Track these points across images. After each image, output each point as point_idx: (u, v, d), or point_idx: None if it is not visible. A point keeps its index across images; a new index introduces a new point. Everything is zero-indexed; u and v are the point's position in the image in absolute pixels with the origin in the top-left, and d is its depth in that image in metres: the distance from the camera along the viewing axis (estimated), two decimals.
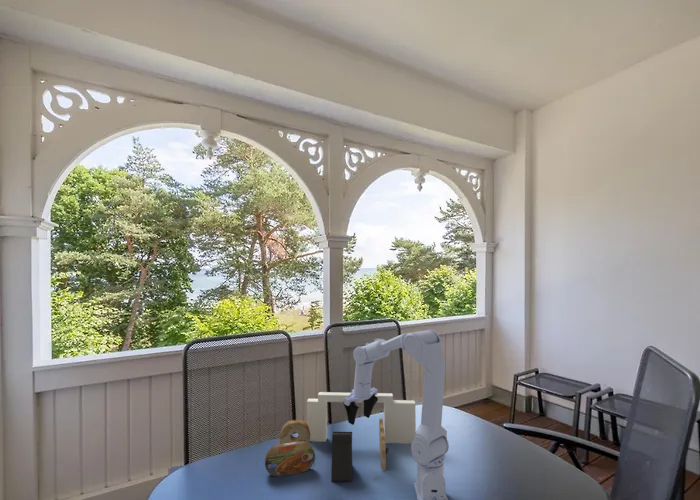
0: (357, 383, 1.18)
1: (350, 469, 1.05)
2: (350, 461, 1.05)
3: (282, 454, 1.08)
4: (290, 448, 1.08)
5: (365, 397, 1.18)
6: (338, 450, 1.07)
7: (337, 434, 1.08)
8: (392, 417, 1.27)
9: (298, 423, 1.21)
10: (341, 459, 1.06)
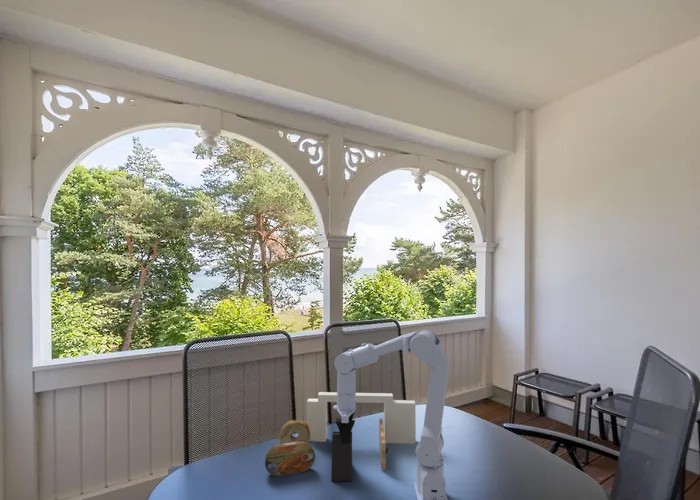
0: (346, 395, 1.07)
1: (350, 469, 1.05)
2: (350, 461, 1.05)
3: (282, 454, 1.08)
4: (290, 448, 1.08)
5: (355, 408, 1.08)
6: (338, 450, 1.07)
7: (337, 434, 1.08)
8: (392, 417, 1.27)
9: (298, 423, 1.21)
10: (341, 459, 1.06)
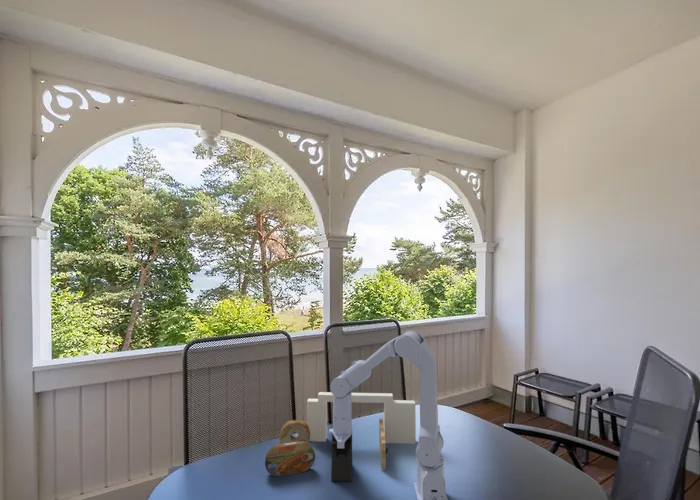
0: (342, 419, 1.06)
1: (350, 469, 1.05)
2: (350, 461, 1.05)
3: (282, 454, 1.08)
4: (290, 448, 1.08)
5: (351, 431, 1.08)
6: None
7: None
8: (392, 417, 1.27)
9: (298, 424, 1.21)
10: (341, 459, 1.06)
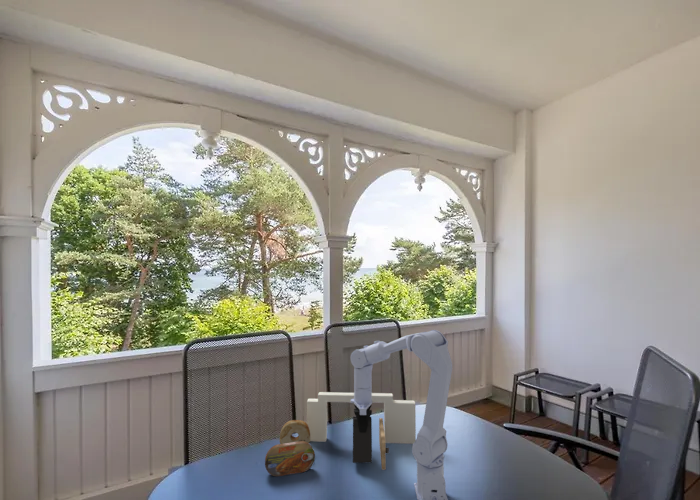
0: (363, 389, 1.12)
1: (370, 451, 1.11)
2: (370, 444, 1.11)
3: (282, 454, 1.08)
4: (290, 448, 1.08)
5: (371, 401, 1.14)
6: (359, 434, 1.13)
7: None
8: (392, 417, 1.27)
9: (298, 424, 1.21)
10: (362, 442, 1.12)
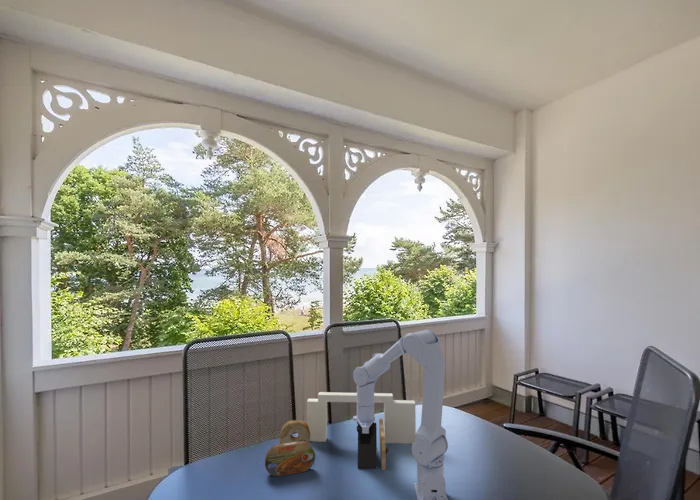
0: (366, 407, 1.13)
1: (375, 457, 1.11)
2: (375, 450, 1.12)
3: (282, 454, 1.08)
4: (290, 448, 1.08)
5: (374, 418, 1.14)
6: None
7: None
8: (392, 417, 1.27)
9: (298, 424, 1.21)
10: (366, 448, 1.12)
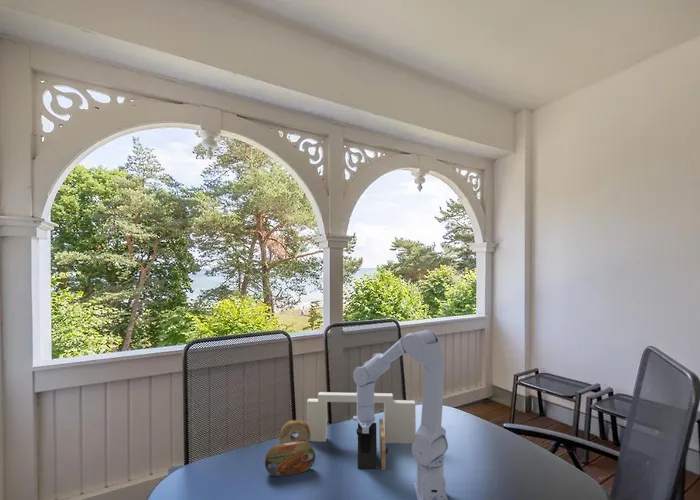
0: (366, 407, 1.13)
1: (375, 457, 1.11)
2: (375, 450, 1.12)
3: (282, 454, 1.08)
4: (290, 448, 1.08)
5: (374, 418, 1.14)
6: None
7: None
8: (392, 417, 1.27)
9: (298, 424, 1.21)
10: None
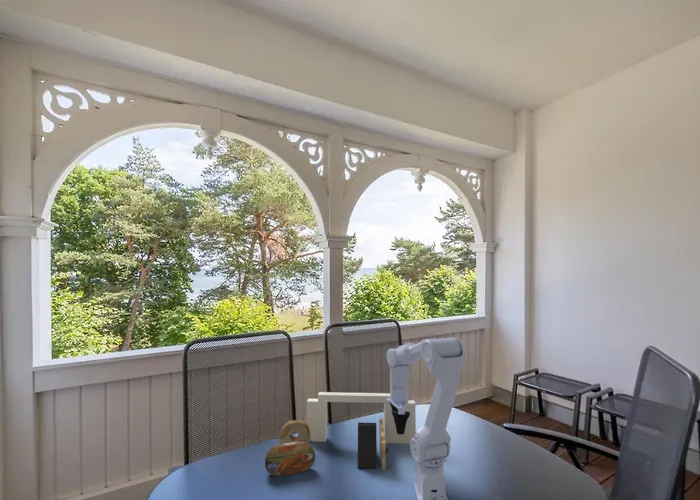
0: (400, 388, 1.13)
1: (375, 457, 1.11)
2: (375, 450, 1.12)
3: (282, 454, 1.08)
4: (290, 448, 1.08)
5: (407, 400, 1.15)
6: (363, 440, 1.13)
7: (362, 425, 1.14)
8: (392, 417, 1.27)
9: (298, 423, 1.21)
10: (366, 448, 1.12)
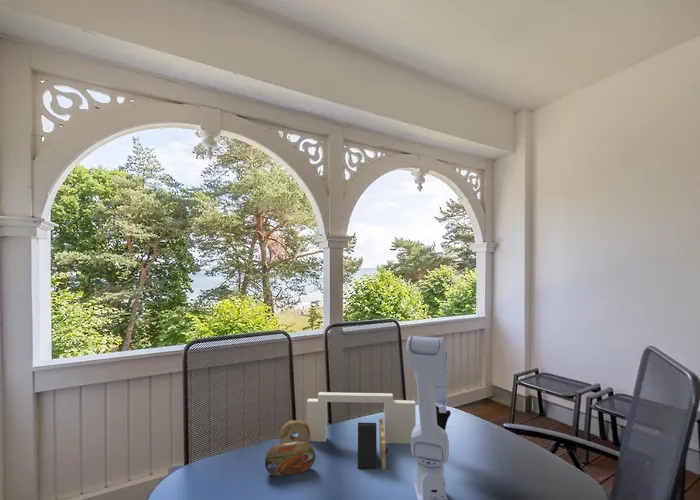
0: (440, 387, 1.14)
1: (375, 457, 1.11)
2: (375, 450, 1.12)
3: (282, 454, 1.08)
4: (290, 448, 1.08)
5: (447, 399, 1.16)
6: (363, 440, 1.13)
7: (362, 425, 1.14)
8: (392, 417, 1.27)
9: (298, 424, 1.21)
10: (366, 448, 1.12)
